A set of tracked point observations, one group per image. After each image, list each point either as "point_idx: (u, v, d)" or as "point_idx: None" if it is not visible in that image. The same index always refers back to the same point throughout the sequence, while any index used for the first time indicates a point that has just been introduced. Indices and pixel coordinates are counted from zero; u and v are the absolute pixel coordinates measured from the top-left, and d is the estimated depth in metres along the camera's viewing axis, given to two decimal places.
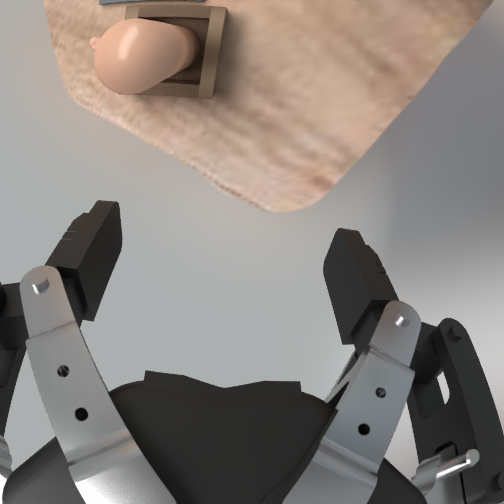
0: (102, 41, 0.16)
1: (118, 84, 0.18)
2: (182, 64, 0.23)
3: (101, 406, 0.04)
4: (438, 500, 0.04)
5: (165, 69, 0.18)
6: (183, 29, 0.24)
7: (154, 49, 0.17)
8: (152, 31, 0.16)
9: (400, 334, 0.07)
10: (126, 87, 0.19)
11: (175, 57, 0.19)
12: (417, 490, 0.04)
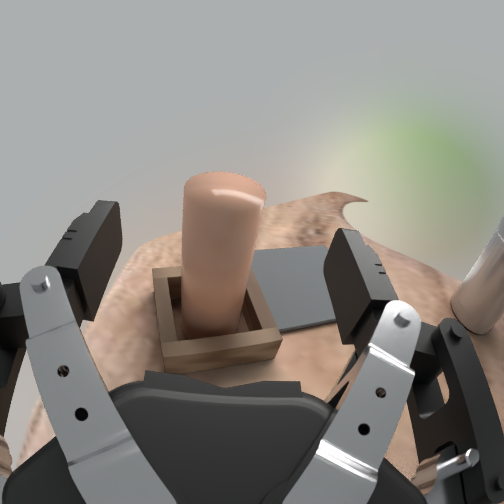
0: (234, 175, 0.24)
1: (193, 185, 0.22)
2: (209, 285, 0.24)
3: (102, 406, 0.04)
4: (438, 500, 0.04)
5: (219, 210, 0.20)
6: (243, 298, 0.28)
7: (238, 202, 0.21)
8: (256, 199, 0.22)
9: (400, 334, 0.07)
10: (191, 189, 0.21)
11: (229, 235, 0.21)
12: (417, 490, 0.04)
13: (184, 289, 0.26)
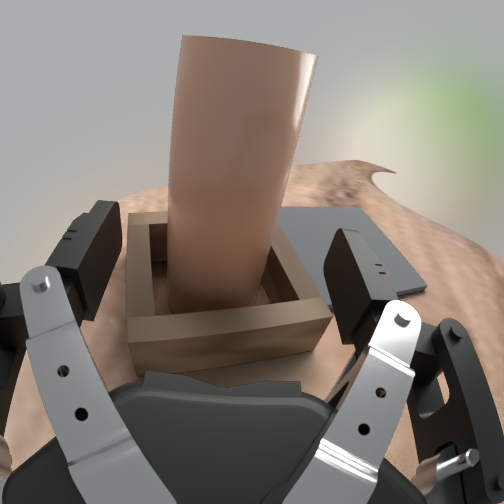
0: None
1: None
2: (215, 204, 0.13)
3: (102, 406, 0.04)
4: (438, 500, 0.04)
5: (245, 41, 0.09)
6: (269, 246, 0.17)
7: None
8: None
9: (400, 334, 0.07)
10: None
11: (260, 92, 0.10)
12: (417, 490, 0.04)
13: (171, 225, 0.15)
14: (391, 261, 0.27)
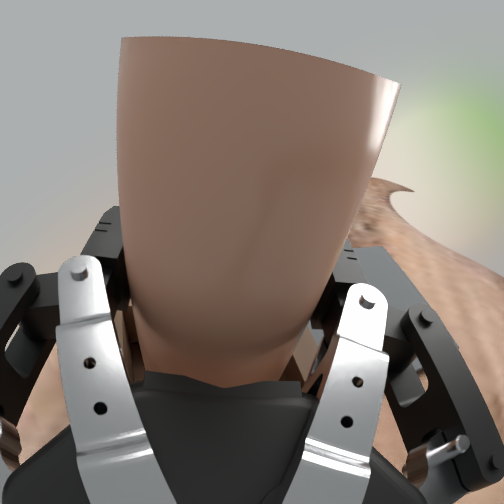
0: None
1: None
2: (203, 358, 0.07)
3: (123, 404, 0.04)
4: (435, 489, 0.04)
5: (259, 47, 0.03)
6: None
7: None
8: None
9: (362, 316, 0.07)
10: None
11: (294, 180, 0.04)
12: (417, 490, 0.04)
13: (142, 349, 0.10)
14: None
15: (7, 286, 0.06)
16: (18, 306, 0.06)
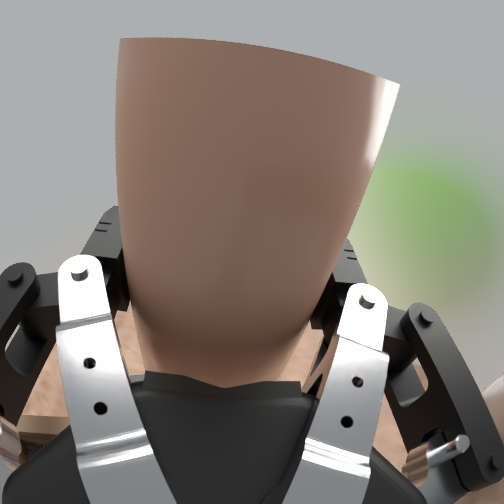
0: None
1: None
2: (202, 359, 0.07)
3: (123, 404, 0.04)
4: (435, 489, 0.04)
5: (257, 48, 0.03)
6: None
7: None
8: None
9: (363, 315, 0.07)
10: None
11: (292, 182, 0.04)
12: (417, 490, 0.04)
13: (142, 350, 0.10)
14: None
15: (7, 286, 0.06)
16: (18, 306, 0.06)
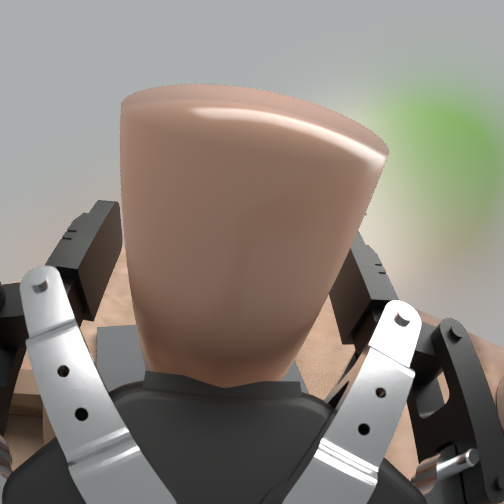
0: (274, 94, 0.08)
1: (158, 95, 0.06)
2: None
3: (102, 406, 0.04)
4: (439, 500, 0.04)
5: (251, 150, 0.04)
6: None
7: (314, 135, 0.05)
8: (363, 139, 0.06)
9: (400, 334, 0.07)
10: (147, 100, 0.06)
11: (281, 260, 0.05)
12: (417, 490, 0.04)
13: None
14: None
15: None
16: None
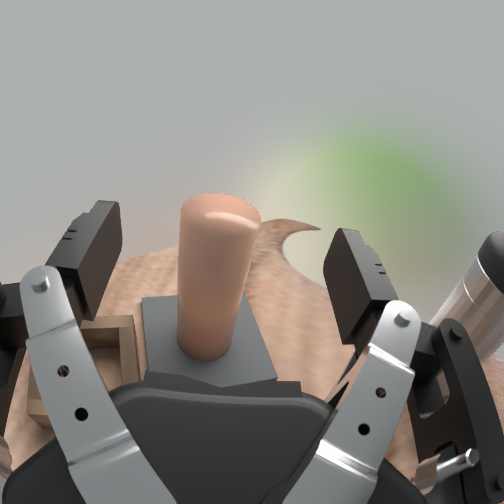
0: (230, 197, 0.25)
1: (190, 207, 0.23)
2: (204, 304, 0.25)
3: (102, 406, 0.04)
4: (439, 500, 0.04)
5: (215, 235, 0.21)
6: (237, 315, 0.29)
7: (233, 226, 0.22)
8: (251, 223, 0.22)
9: (400, 334, 0.07)
10: (188, 212, 0.22)
11: (224, 258, 0.22)
12: (417, 490, 0.04)
13: (180, 306, 0.27)
14: (247, 352, 0.32)
15: None
16: None
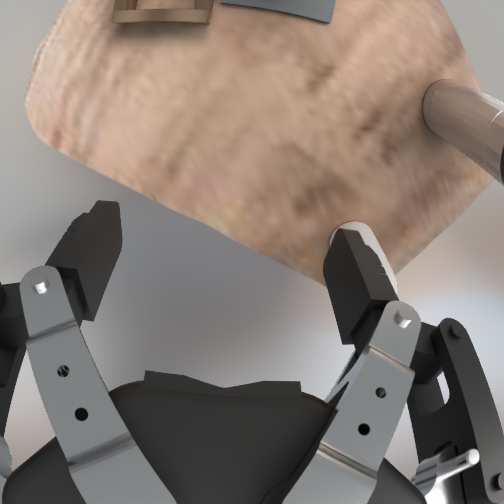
0: None
1: None
2: None
3: (102, 406, 0.04)
4: (438, 500, 0.04)
5: None
6: None
7: None
8: None
9: (400, 334, 0.07)
10: None
11: None
12: (417, 490, 0.04)
13: None
14: None
15: None
16: None
